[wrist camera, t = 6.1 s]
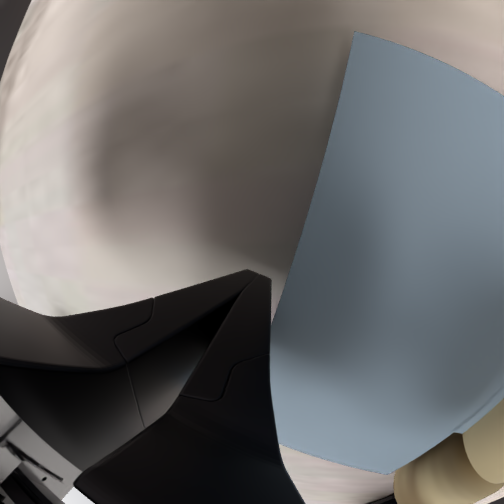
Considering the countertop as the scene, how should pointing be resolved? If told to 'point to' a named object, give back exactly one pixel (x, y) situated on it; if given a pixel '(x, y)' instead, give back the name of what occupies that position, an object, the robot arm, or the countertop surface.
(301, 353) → the light blue block
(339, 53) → the countertop surface
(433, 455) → the wooden tray with rolls
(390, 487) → the countertop surface
